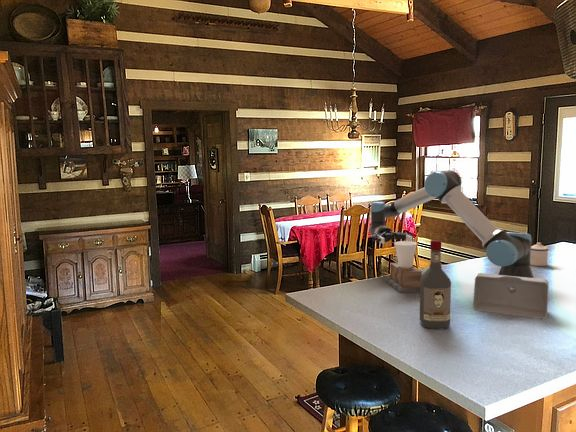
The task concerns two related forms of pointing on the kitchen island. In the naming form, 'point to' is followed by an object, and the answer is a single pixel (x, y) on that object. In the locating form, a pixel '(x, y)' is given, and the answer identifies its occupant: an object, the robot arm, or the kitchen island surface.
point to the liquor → (435, 292)
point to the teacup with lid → (539, 255)
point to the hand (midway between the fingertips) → (397, 240)
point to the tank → (511, 295)
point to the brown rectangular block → (404, 278)
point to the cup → (405, 253)
